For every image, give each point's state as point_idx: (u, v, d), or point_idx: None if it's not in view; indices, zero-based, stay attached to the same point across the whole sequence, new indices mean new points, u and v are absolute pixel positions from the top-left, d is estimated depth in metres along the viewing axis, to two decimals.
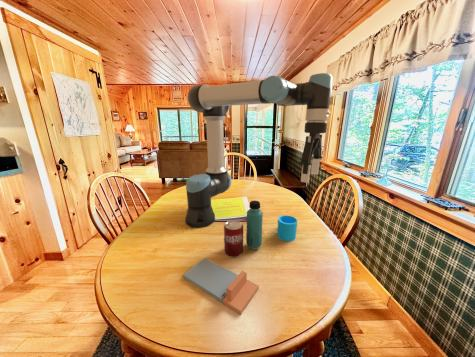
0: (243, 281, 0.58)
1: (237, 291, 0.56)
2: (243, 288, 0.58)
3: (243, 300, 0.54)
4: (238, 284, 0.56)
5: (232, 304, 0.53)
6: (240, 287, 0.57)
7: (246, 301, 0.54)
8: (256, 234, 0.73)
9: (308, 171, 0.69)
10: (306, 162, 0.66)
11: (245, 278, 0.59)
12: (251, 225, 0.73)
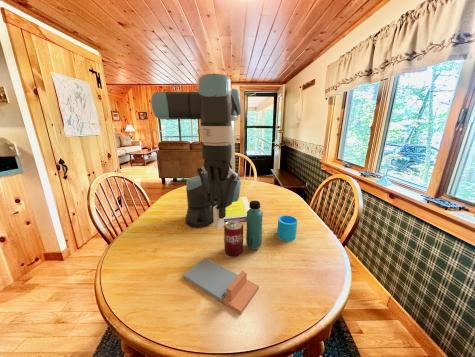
0: (243, 281, 0.58)
1: (237, 291, 0.56)
2: (243, 288, 0.58)
3: (243, 300, 0.54)
4: (238, 284, 0.56)
5: (232, 304, 0.53)
6: (240, 287, 0.57)
7: (246, 301, 0.54)
8: (256, 234, 0.73)
9: None
10: None
11: (245, 278, 0.59)
12: (251, 225, 0.73)
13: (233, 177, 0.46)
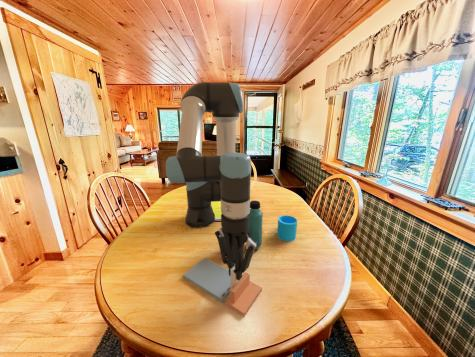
0: (246, 283, 0.57)
1: (240, 293, 0.55)
2: (246, 290, 0.57)
3: (247, 302, 0.53)
4: (241, 286, 0.55)
5: (235, 306, 0.52)
6: (243, 289, 0.56)
7: (249, 303, 0.53)
8: (256, 234, 0.73)
9: None
10: None
11: (248, 280, 0.58)
12: (251, 225, 0.73)
13: (252, 248, 0.48)
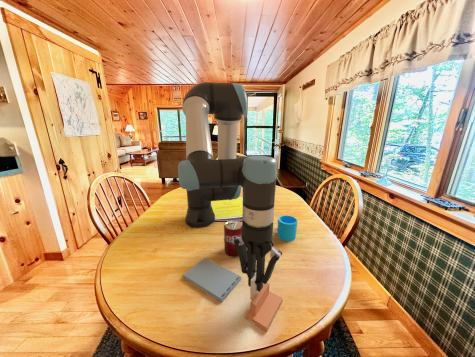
0: (266, 293, 0.54)
1: (261, 305, 0.52)
2: (266, 301, 0.54)
3: (268, 315, 0.50)
4: (262, 297, 0.51)
5: (257, 319, 0.48)
6: (263, 300, 0.53)
7: (271, 316, 0.49)
8: None
9: None
10: None
11: (267, 290, 0.55)
12: None
13: (277, 259, 0.45)
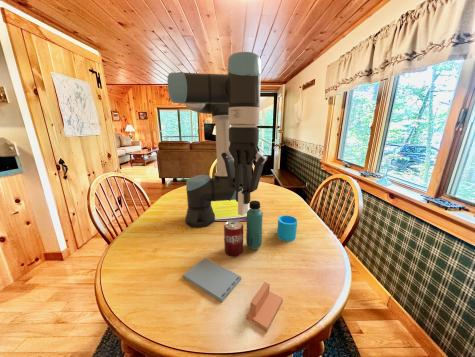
0: (266, 293, 0.54)
1: (261, 305, 0.52)
2: (266, 301, 0.53)
3: (269, 315, 0.50)
4: (262, 297, 0.51)
5: (257, 320, 0.48)
6: (263, 300, 0.53)
7: (272, 316, 0.49)
8: (256, 234, 0.73)
9: None
10: None
11: (268, 290, 0.54)
12: (251, 225, 0.73)
13: (262, 160, 0.46)
